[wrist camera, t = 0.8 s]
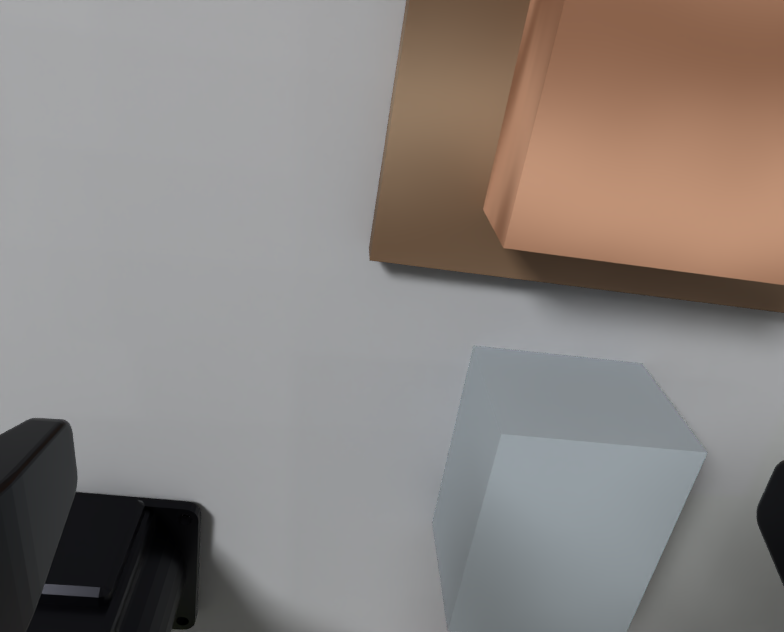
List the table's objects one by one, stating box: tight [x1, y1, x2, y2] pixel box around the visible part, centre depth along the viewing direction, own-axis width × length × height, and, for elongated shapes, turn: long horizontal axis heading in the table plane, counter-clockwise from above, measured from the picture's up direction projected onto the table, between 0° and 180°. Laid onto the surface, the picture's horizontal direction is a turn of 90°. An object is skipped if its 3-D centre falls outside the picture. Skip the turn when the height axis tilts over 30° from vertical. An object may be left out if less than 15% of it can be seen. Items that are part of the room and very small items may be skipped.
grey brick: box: [432, 346, 708, 632], centre depth 23 cm, size 8×6×5 cm
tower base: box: [369, 0, 784, 313], centre depth 17 cm, size 14×14×4 cm
